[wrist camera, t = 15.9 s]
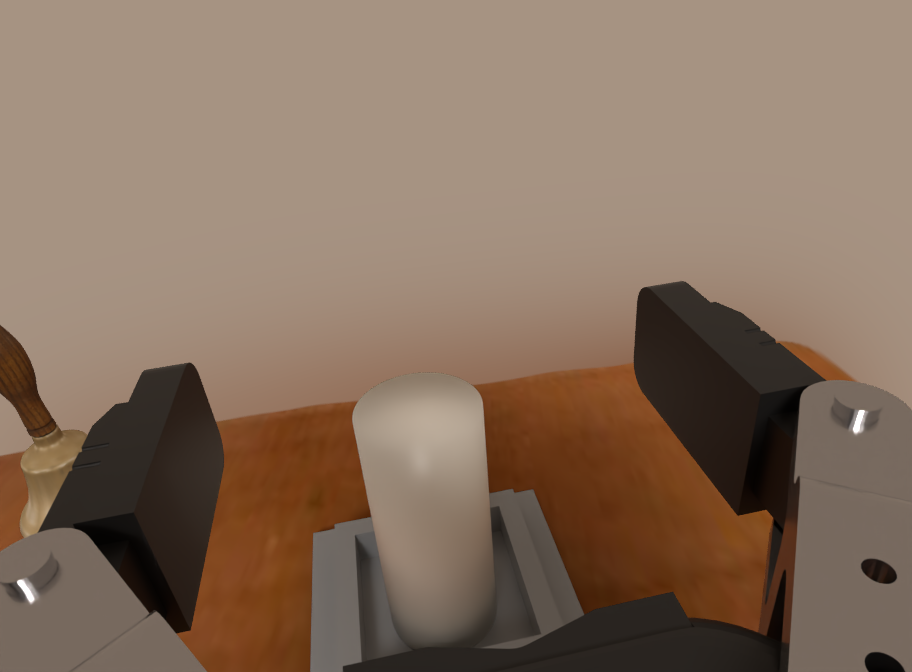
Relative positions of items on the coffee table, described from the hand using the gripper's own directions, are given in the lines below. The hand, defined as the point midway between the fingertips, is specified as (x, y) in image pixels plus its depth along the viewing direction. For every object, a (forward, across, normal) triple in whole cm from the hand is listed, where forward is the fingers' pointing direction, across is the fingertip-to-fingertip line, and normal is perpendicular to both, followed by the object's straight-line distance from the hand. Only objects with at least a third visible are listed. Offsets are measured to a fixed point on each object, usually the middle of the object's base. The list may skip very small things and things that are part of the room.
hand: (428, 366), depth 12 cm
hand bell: (+30, +25, +26) cm, 47 cm away
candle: (+14, 0, +25) cm, 29 cm away
